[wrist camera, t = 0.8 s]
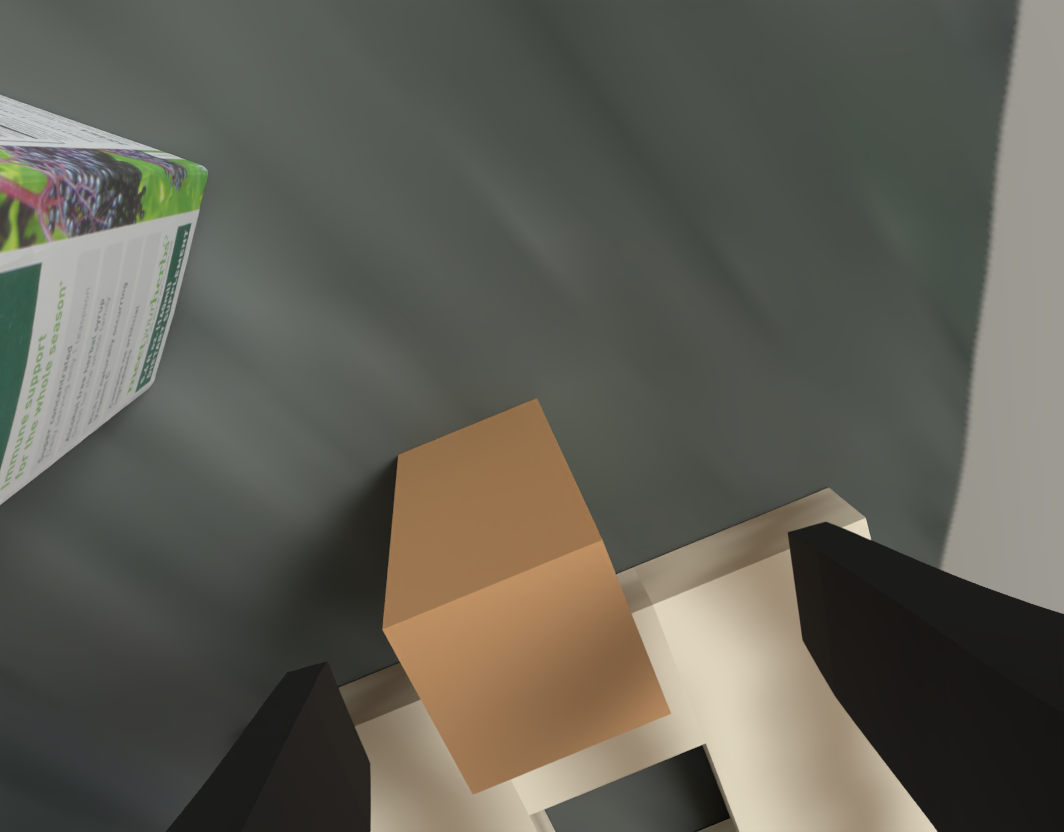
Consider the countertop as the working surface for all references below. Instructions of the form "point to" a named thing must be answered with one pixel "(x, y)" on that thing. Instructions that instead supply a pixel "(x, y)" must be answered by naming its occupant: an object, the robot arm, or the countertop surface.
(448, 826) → the holder plate
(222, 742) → the countertop surface
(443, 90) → the countertop surface
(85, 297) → the syrup box
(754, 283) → the countertop surface
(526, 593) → the orange rectangular block
